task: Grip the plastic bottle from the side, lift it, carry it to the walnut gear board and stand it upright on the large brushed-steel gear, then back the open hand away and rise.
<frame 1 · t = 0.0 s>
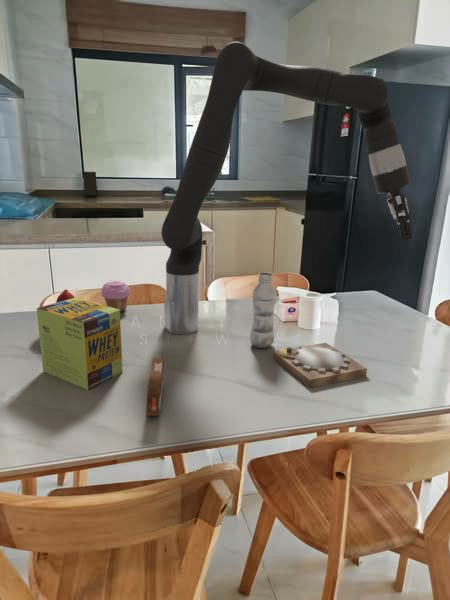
hand: (405, 236, 103), 31 cm above the table, tool tilted 20°, fingers open, 8 cm apart
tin: (156, 404, 88), on the table
protein box: (83, 372, 100), on the table
plastic bottle: (261, 346, 117), on the table
cupcake: (116, 311, 140), on the table
cereal bowl: (76, 334, 121), on the table
gear board: (317, 366, 106), on the table
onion: (67, 314, 136), on the table
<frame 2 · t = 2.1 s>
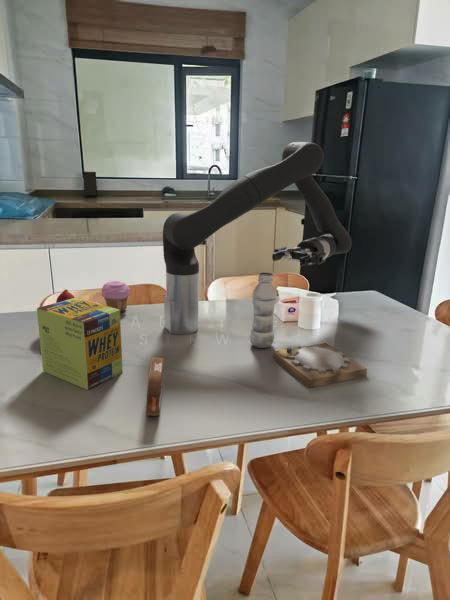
hand: (287, 259, 119), 22 cm above the table, tool horizontal, fingers open, 8 cm apart
nothing on the table moved.
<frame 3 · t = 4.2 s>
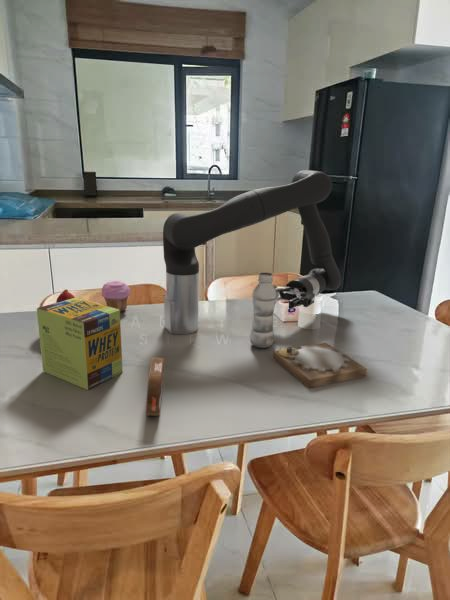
hand: (276, 301, 119), 11 cm above the table, tool horizontal, fingers open, 8 cm apart
nothing on the table moved.
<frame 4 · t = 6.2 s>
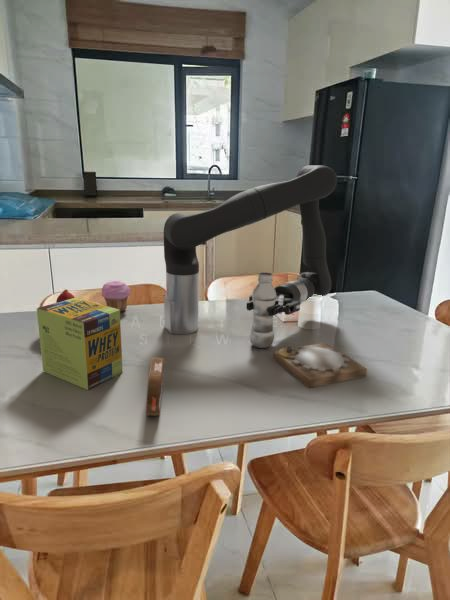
hand: (259, 309, 112), 11 cm above the table, tool horizontal, fingers closed on plastic bottle, 6 cm apart
plastic bottle: (261, 346, 117), on the table, touching gripper
everything else where it was.
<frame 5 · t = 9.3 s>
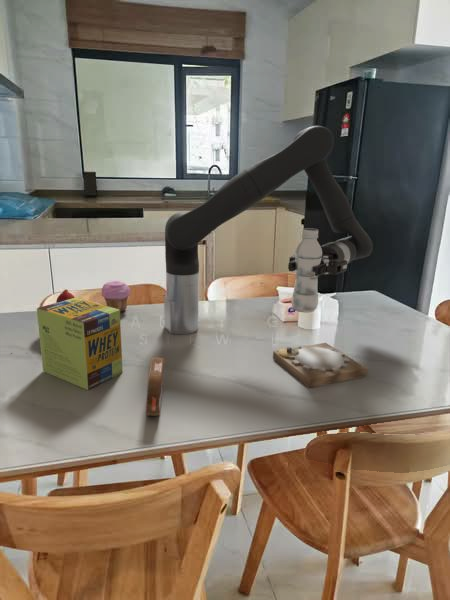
hand: (303, 269, 101), 24 cm above the table, tool horizontal, fingers closed on plastic bottle, 6 cm apart
plastic bottle: (303, 311, 106), point 13 cm above the table, touching gripper
everything else where it was.
when the fingers open (14 cm above the table, at t = 12.6 s): plastic bottle stays where it is, resting on gear board.
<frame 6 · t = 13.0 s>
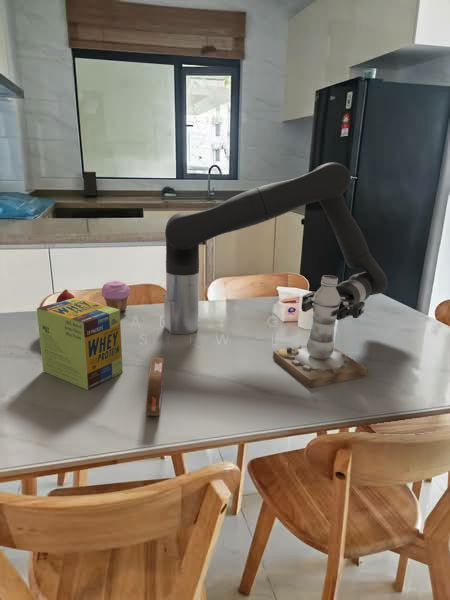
hand: (320, 311, 100), 15 cm above the table, tool horizontal, fingers open, 8 cm apart
plastic bottle: (318, 357, 105), point 2 cm above the table, touching gear board
everything else where it was.
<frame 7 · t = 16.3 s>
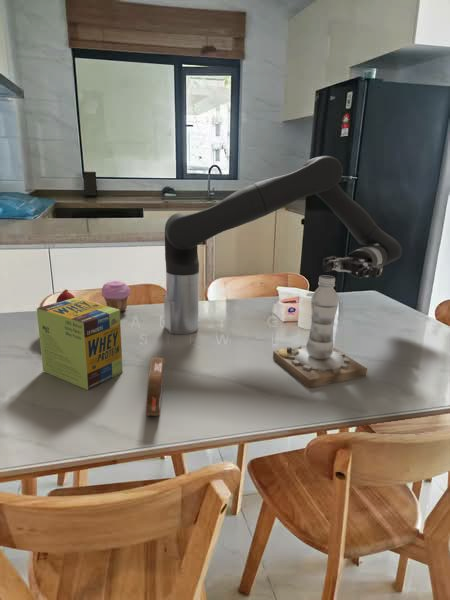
hand: (341, 271, 106), 22 cm above the table, tool horizontal, fingers open, 8 cm apart
nothing on the table moved.
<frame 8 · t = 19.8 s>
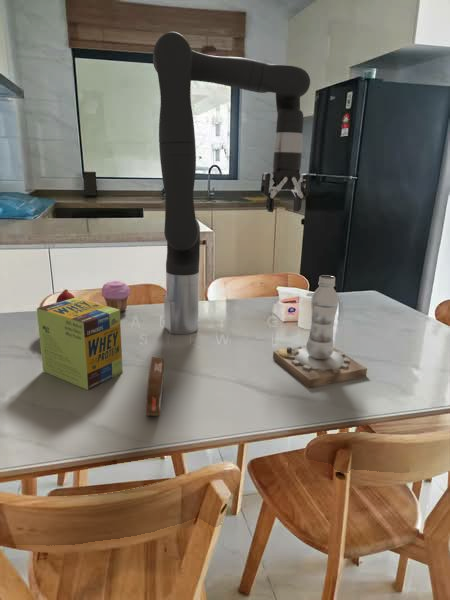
hand: (283, 211, 123), 34 cm above the table, tool pointing down, fingers open, 8 cm apart
nothing on the table moved.
at the end: plastic bottle 0.2 cm off-centre on the gear board, point 2.4 cm above the gear board's base; plastic bottle tilted 0°; the gripper is holding nothing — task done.
